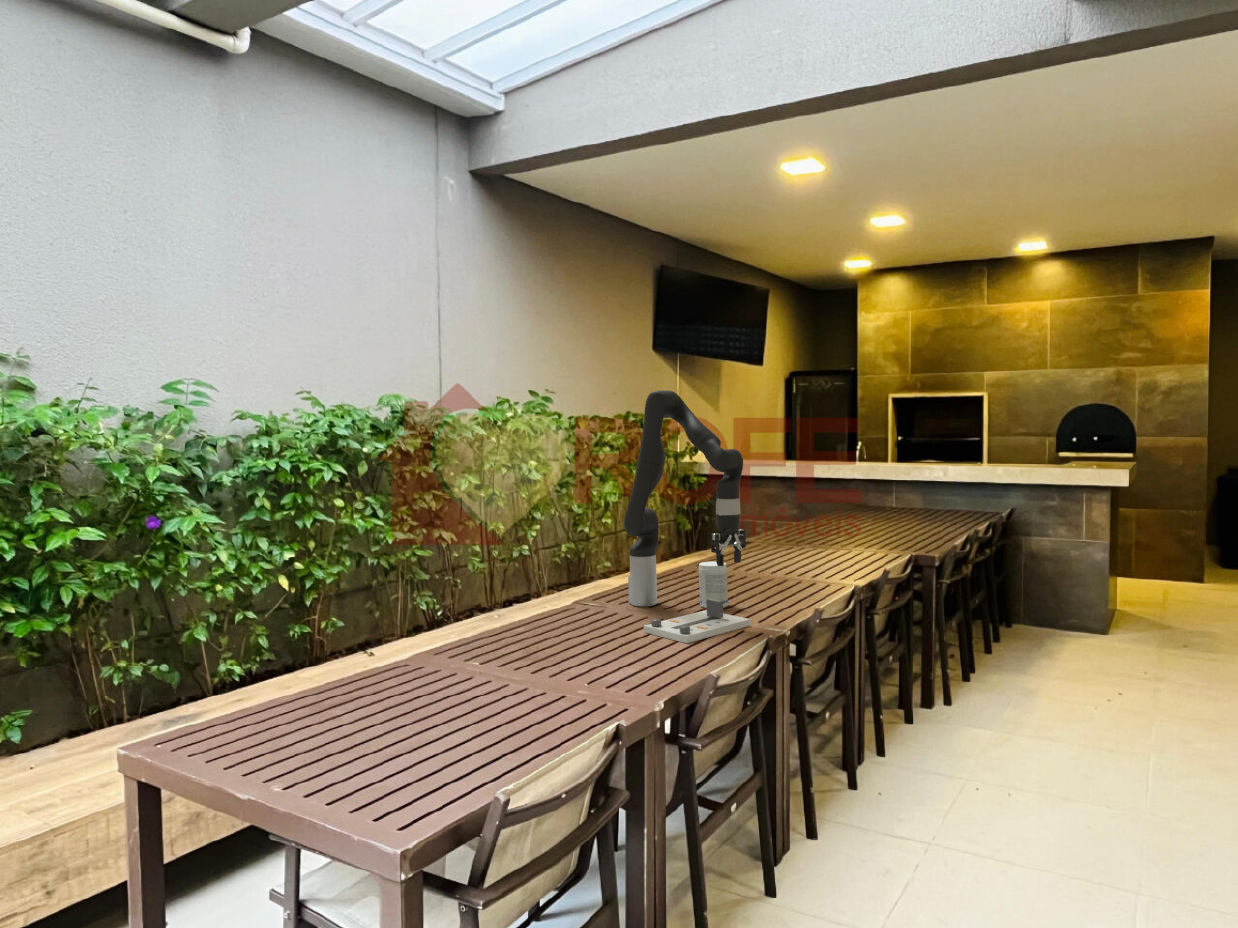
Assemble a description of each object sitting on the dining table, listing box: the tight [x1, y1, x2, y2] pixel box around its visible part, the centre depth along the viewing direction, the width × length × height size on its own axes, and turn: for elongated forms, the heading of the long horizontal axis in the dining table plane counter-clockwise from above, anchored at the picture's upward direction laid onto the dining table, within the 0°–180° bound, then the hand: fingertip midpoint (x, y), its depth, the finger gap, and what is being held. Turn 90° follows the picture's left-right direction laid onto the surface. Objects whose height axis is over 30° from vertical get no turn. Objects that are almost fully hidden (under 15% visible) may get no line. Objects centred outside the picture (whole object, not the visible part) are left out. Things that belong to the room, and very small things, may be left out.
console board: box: [643, 609, 751, 644], centre depth 251 cm, size 18×28×4 cm, turn 131°
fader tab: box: [706, 599, 724, 618], centre depth 256 cm, size 5×2×5 cm, turn 41°
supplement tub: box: [698, 561, 729, 609], centre depth 281 cm, size 10×10×15 cm
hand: (728, 564), depth 260 cm, fingers open, 7 cm apart
